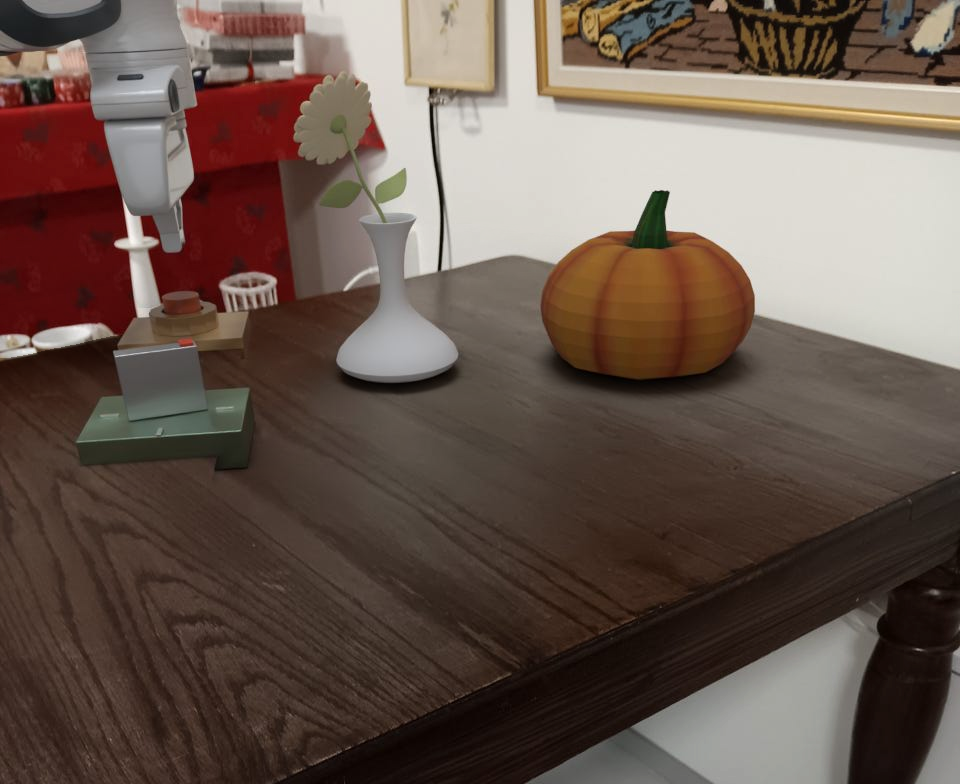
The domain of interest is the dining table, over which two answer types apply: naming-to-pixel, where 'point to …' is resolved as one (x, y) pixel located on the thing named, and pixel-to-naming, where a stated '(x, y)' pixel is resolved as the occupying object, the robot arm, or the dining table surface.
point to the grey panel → (161, 379)
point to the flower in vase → (394, 324)
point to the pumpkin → (647, 301)
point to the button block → (190, 329)
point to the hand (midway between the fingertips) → (174, 249)
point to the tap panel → (172, 432)
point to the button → (181, 303)
